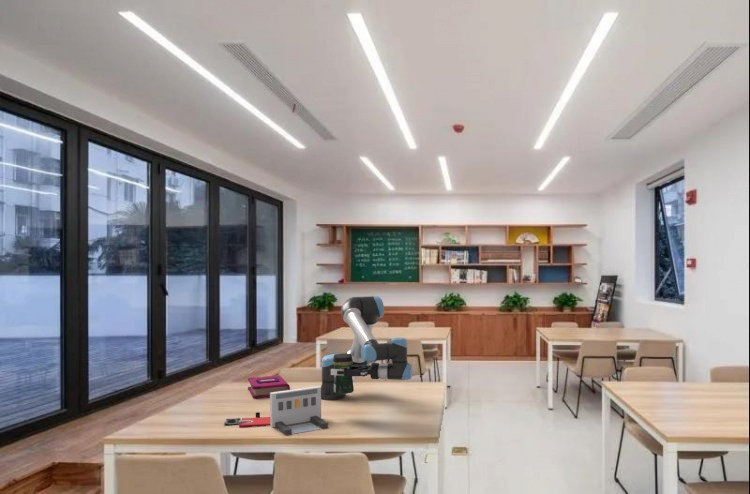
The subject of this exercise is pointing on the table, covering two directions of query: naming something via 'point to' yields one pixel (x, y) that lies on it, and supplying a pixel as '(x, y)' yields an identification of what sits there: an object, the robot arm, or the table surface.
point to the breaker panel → (295, 405)
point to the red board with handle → (250, 421)
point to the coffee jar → (340, 381)
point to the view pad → (303, 428)
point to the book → (266, 386)
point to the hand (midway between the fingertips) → (333, 370)
